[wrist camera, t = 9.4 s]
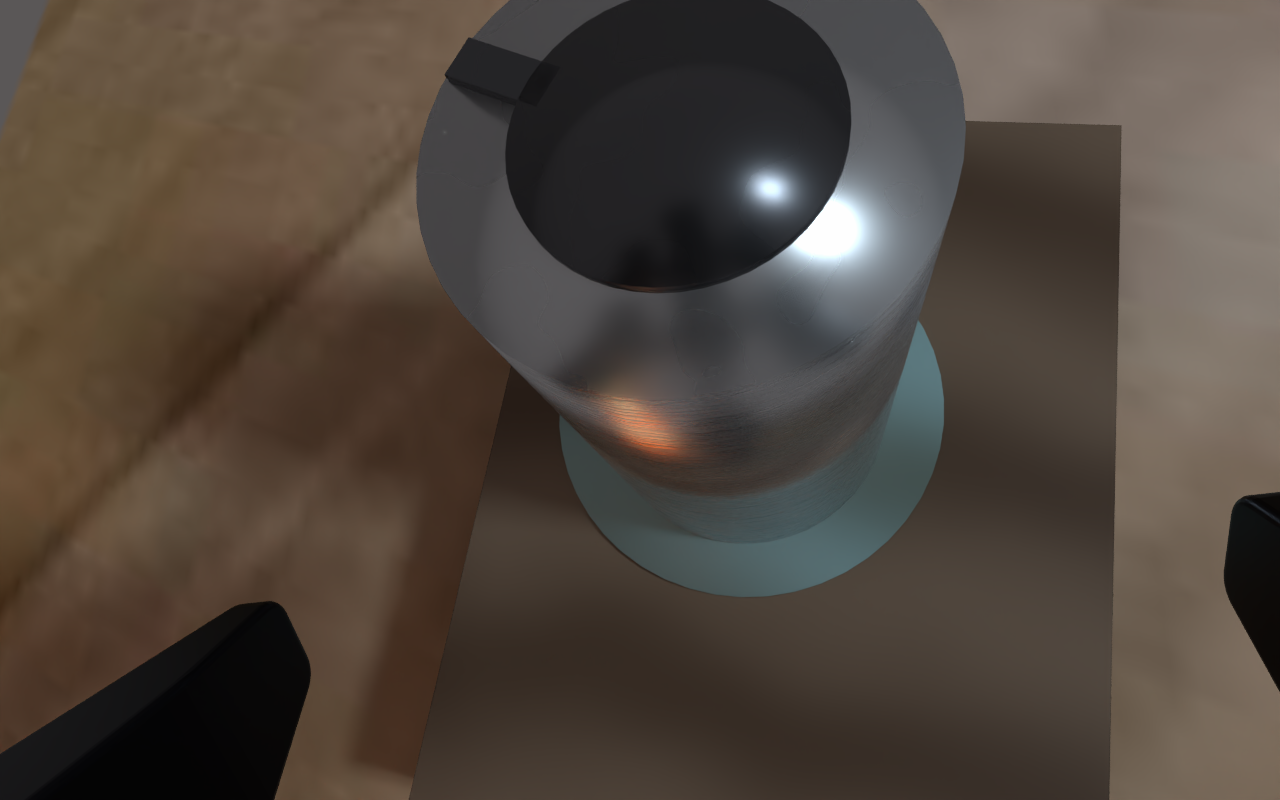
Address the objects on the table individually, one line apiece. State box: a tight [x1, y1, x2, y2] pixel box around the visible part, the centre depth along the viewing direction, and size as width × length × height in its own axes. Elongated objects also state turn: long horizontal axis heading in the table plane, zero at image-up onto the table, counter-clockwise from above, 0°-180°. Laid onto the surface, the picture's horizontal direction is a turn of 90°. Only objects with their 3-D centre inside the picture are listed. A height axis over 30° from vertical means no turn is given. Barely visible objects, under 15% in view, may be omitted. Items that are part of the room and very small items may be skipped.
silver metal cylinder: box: [417, 0, 966, 544], centre depth 14 cm, size 6×6×11 cm
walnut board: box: [409, 121, 1121, 800], centre depth 20 cm, size 18×14×2 cm
